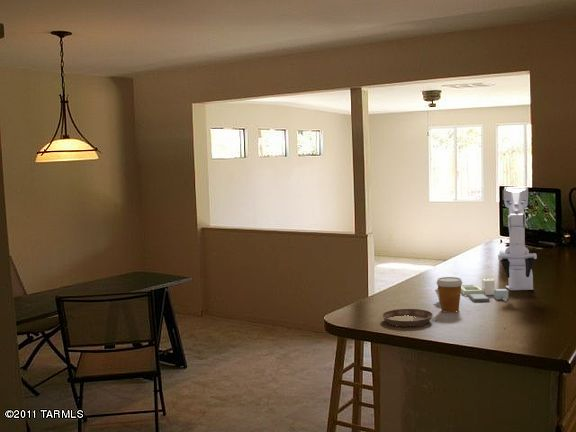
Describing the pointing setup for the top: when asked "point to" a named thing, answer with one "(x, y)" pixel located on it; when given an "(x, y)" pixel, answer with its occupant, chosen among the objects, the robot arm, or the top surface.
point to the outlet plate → (471, 289)
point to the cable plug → (501, 294)
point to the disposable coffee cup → (449, 293)
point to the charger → (488, 286)
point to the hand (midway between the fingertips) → (517, 277)
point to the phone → (478, 298)
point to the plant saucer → (420, 315)
